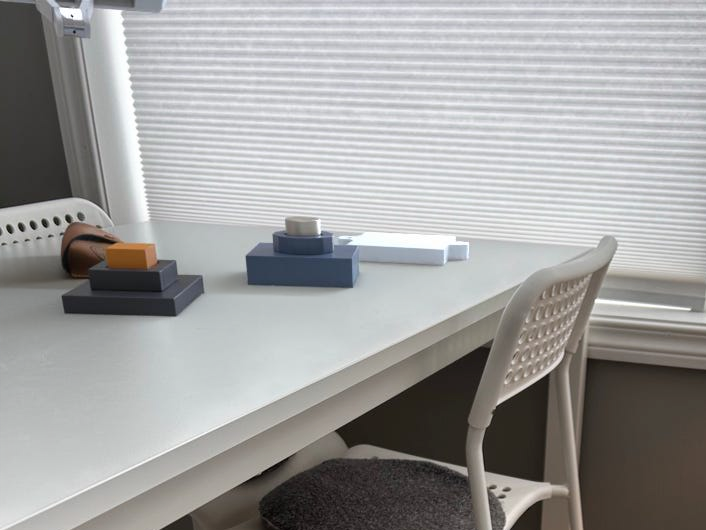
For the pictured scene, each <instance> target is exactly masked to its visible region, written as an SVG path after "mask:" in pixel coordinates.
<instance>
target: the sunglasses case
mask: <svg viewBox="0 0 706 530" xmlns="http://www.w3.org/2000/svg"><path fill="white" fill-rule="evenodd" d="M64 230H65V231H64V233H63V236H62V238H61V245H60V261H61V266H62V269H63V270H64V271H65V272H66V273H67V274H68V275H69V276H70V277H72V278H75V279H80V278H82V279H89V276H88V269H90V268H91V267H93V266H95V265H97V264H99V263H100V262H102V261H104V260H106V259H107V256H106V250H105V248H107V247H109V246H111V245H113V244H115V243H125V242H124V241H122V240H121V239H120V238H119V237H117V236H115V235H113V234H111V233H109V232H107V231H105V230H103V229H101V228H100V227H97V226H95V225H92V224H89V223H87V222H80V221H74V222H71V223H69V224H68V225H67V227H66V228H65V229H64Z"/></svg>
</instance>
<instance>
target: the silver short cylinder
mask: <svg viewBox="0 0 706 530" xmlns="http://www.w3.org/2000/svg"><path fill="white" fill-rule="evenodd" d="M284 225H285V227H284V228H285V230H286V235H288V236H298V237H312V236H321V232H320V231H321V219H320V218H318V217H313V216H288V217H285V218H284Z"/></svg>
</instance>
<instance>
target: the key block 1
mask: <svg viewBox="0 0 706 530" xmlns="http://www.w3.org/2000/svg"><path fill="white" fill-rule="evenodd" d="M88 276H89V278H88V280H86V281H84V282H82V283H81V284H79V285H77V286H76V287H74V288H72V289H70V290H68V291H66V292H65V293H63V294H62V295H61V301H62V307H63V312H64V314H65V315H66V314H67V315H69V314H70V315H71V314H72V315H74V314H75V315H104V316H105V315H107V316H110V315H111V316H143V317H144V316H147V317H177V316H179V315H180V314H181V313H182V312H183V311H184V310H185V309H186V308H188V307H189V306H190V305H192V303H193V302H194V301H196V300H197V299H198V298H199V297H200V296H202V294H205V287H204V278H203V274H178V264H177V260H176V259H157V265H155V266H154V267H152V268H151V269H133V268H108V263H107V259H106V260H104V261H102V262H100V263H99V264H97V265H95V266H93V267H91V268H90V269H88Z"/></svg>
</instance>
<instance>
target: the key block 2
mask: <svg viewBox="0 0 706 530" xmlns="http://www.w3.org/2000/svg"><path fill="white" fill-rule="evenodd" d="M320 232H321V236H312V237H298V236H288V235H286V229H284V230H279V231H274V232H273V233H272V242H258V244H256V245H255V246H254V247H253V248H252V249H251V250H250V251H249V252H248V253H246V254H245V255H244V256H245V267H246V268H245V269H246V279H247V285H248V286H271V285H275V287H276V286H277V287H278V286H279V287H306V288H307V287H310V288H344V289H345V288H347V289H353V288H354V286H355V284H356V282H357V279H358V277H359V275H360V261H359V249H358V246H355V245H338V244H335V235H334V233H332V232H329V231H326V230H320Z"/></svg>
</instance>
